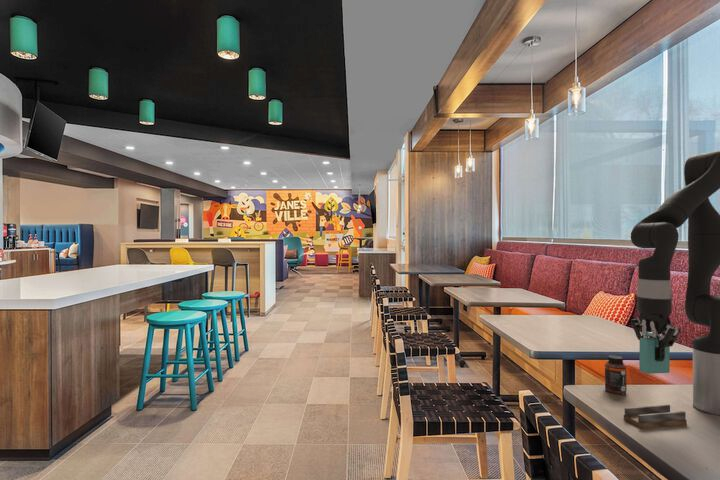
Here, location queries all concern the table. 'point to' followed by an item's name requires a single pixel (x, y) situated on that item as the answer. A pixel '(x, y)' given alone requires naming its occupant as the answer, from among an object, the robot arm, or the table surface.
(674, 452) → the table surface
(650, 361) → the teal rectangular block
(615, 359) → the supplement bottle
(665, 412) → the floor track
